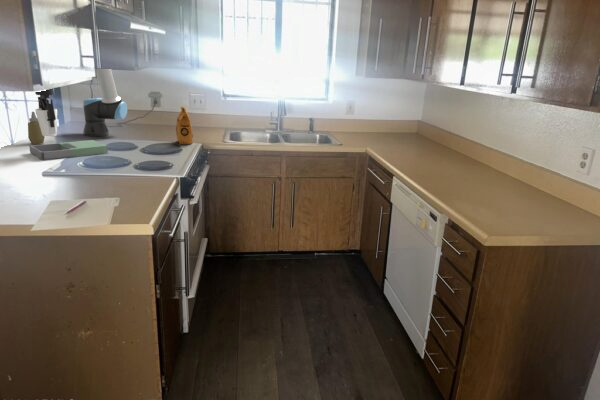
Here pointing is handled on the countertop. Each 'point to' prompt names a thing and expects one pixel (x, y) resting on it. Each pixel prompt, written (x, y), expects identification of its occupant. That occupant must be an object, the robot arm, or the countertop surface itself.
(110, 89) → the robot arm
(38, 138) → the squeeze bottle
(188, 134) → the coffee package
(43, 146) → the grey green tray
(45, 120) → the foam cup
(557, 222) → the countertop surface
